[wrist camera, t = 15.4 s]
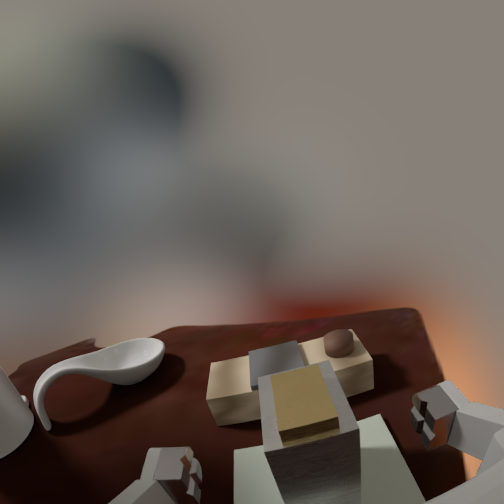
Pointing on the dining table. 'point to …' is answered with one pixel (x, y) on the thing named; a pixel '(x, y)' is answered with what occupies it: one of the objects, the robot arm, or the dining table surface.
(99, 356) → the spoon rest
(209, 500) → the dining table surface
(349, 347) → the block plane
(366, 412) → the dining table surface
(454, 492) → the robot arm
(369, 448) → the mat
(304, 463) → the grey tall block
